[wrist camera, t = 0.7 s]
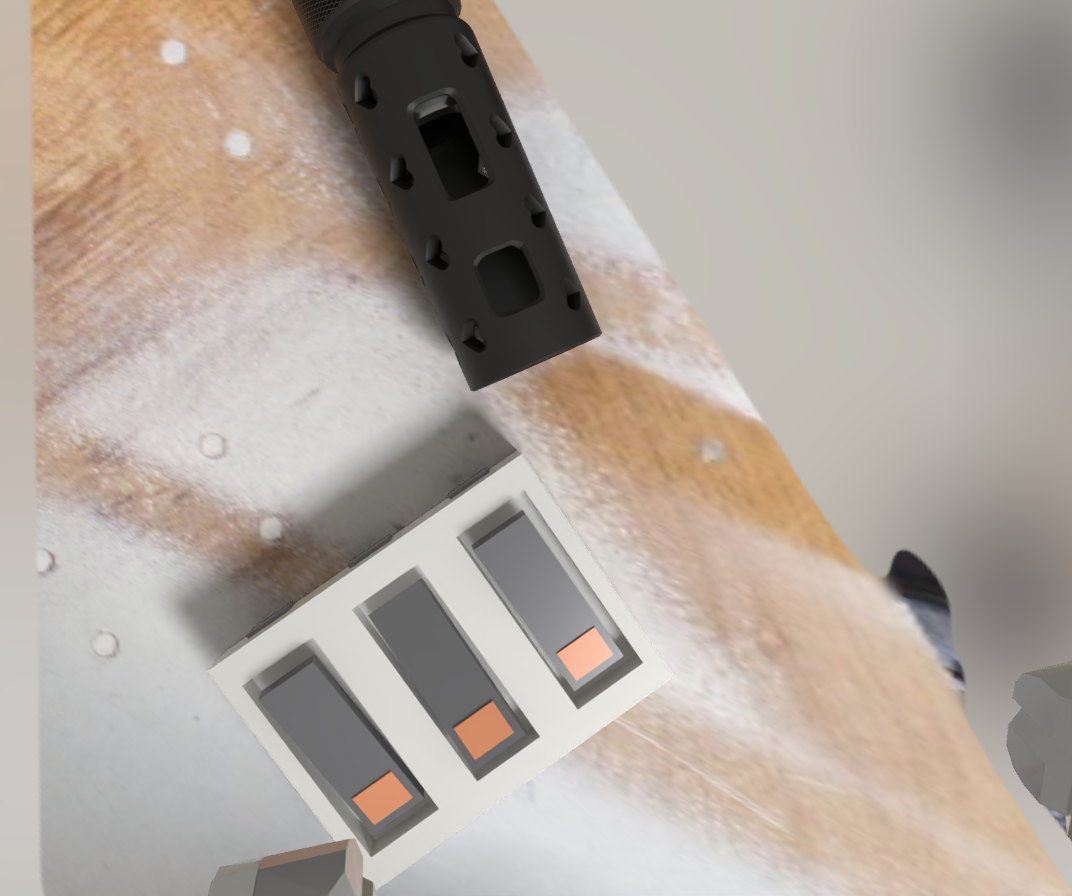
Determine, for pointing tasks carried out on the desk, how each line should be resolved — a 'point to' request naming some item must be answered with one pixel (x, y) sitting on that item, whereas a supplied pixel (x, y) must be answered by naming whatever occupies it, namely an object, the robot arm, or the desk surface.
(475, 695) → the middle rocker
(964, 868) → the desk surface
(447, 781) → the switch strip
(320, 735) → the rocker
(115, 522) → the desk surface
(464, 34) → the perforated black cylinder
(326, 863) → the robot arm
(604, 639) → the rocker
